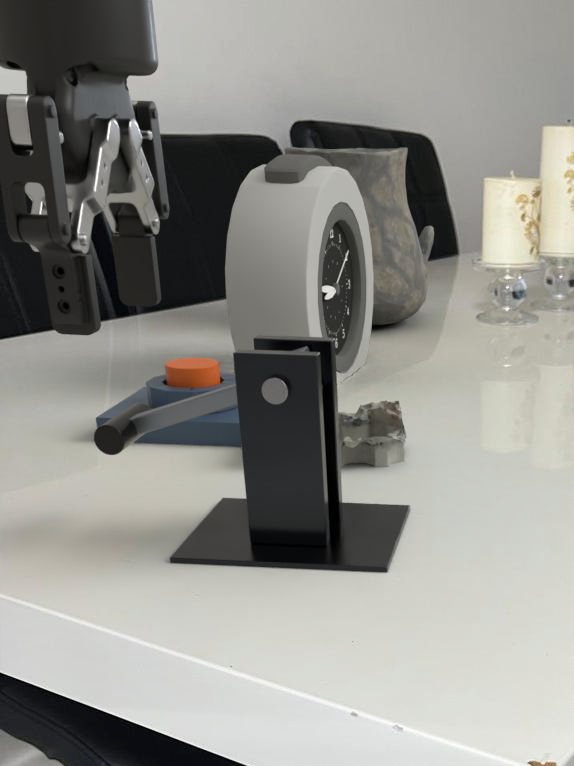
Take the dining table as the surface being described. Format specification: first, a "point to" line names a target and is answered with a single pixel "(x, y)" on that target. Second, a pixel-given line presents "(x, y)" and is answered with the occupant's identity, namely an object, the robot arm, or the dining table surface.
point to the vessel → (386, 228)
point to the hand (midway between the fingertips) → (111, 318)
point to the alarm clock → (301, 258)
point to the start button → (192, 372)
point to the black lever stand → (292, 473)
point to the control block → (196, 431)
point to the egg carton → (372, 435)
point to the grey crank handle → (160, 417)
